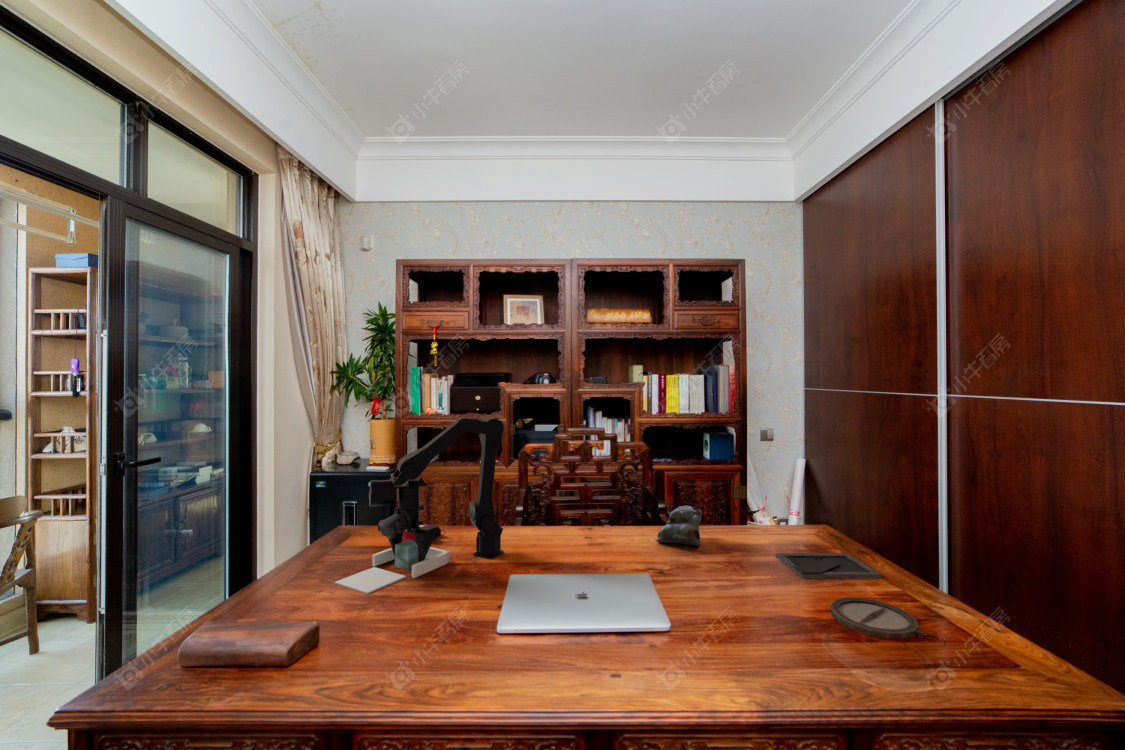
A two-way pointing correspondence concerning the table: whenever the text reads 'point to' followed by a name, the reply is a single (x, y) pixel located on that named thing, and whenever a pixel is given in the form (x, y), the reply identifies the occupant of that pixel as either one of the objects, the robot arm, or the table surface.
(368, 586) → the grey mat
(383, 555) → the white u-shaped frame
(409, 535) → the alarm clock
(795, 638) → the table surface
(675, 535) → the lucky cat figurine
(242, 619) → the table surface
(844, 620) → the compass
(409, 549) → the teal block
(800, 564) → the picture frame
